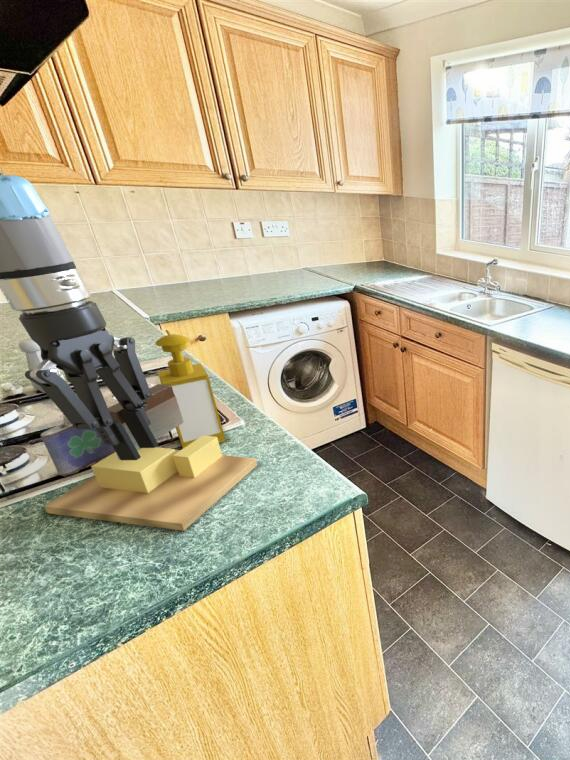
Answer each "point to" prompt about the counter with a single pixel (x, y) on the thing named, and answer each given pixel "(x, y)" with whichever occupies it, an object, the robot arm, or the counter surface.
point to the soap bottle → (190, 392)
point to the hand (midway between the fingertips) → (140, 452)
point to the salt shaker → (33, 357)
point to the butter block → (136, 470)
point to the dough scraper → (155, 412)
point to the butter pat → (197, 456)
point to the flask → (74, 447)
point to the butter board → (156, 497)
